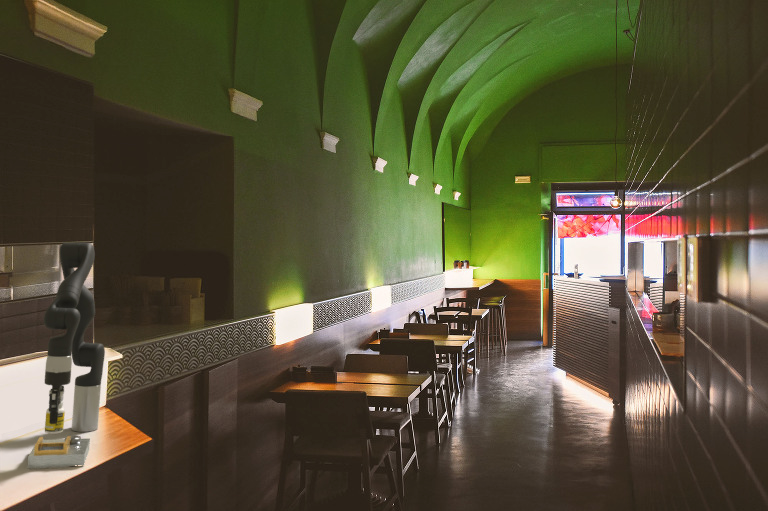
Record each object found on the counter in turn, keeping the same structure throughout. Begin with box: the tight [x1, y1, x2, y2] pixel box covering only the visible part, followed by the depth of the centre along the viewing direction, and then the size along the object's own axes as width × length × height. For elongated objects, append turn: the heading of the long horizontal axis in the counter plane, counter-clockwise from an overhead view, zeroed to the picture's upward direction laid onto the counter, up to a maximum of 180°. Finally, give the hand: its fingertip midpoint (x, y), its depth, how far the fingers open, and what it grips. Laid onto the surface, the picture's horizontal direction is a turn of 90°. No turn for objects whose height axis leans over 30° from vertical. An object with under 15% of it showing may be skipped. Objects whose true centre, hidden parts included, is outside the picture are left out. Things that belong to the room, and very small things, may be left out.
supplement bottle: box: [44, 400, 66, 435], centre depth 207 cm, size 5×5×10 cm
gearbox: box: [27, 435, 91, 470], centre depth 210 cm, size 18×16×7 cm
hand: (54, 421), depth 207 cm, fingers closed on supplement bottle, 5 cm apart
